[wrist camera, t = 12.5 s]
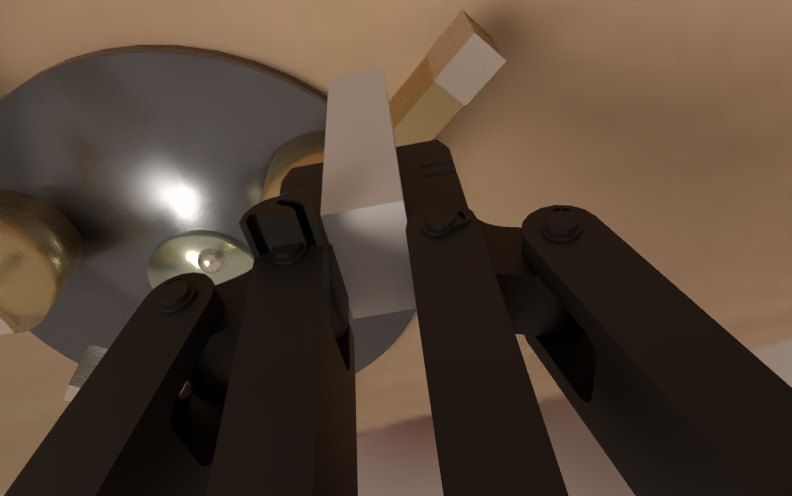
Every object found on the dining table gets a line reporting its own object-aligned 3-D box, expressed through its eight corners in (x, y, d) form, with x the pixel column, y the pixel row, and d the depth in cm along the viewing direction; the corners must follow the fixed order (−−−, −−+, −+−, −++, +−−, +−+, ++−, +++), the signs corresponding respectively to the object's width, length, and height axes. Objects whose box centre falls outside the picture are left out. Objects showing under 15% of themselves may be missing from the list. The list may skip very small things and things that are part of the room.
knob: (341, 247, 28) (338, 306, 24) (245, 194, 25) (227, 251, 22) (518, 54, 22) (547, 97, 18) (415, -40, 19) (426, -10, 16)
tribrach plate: (116, 411, 38) (103, 441, 36) (-159, 100, 23) (-205, 125, 21) (445, 363, 36) (450, 392, 35) (383, -5, 21) (385, 11, 19)
